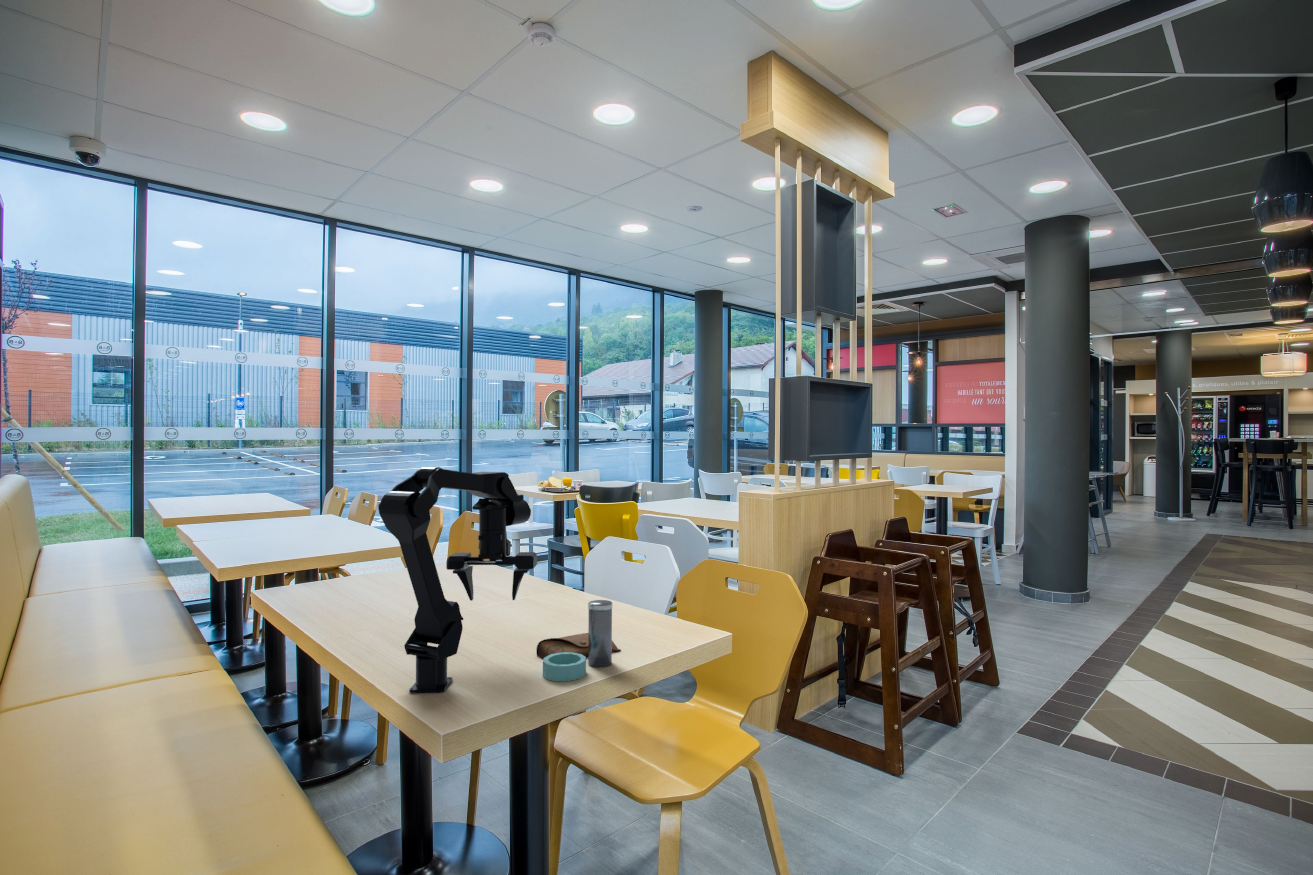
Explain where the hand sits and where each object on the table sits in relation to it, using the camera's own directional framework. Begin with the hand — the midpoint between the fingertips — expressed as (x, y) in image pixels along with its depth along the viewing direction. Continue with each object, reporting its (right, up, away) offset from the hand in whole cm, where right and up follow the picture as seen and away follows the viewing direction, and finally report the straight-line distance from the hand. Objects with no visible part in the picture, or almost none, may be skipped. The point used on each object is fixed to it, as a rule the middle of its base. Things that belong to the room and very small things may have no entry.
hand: (492, 599), depth 139 cm
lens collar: (+17, -13, -9) cm, 23 cm away
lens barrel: (+24, -13, -3) cm, 27 cm away
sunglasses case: (+19, -14, +4) cm, 24 cm away
